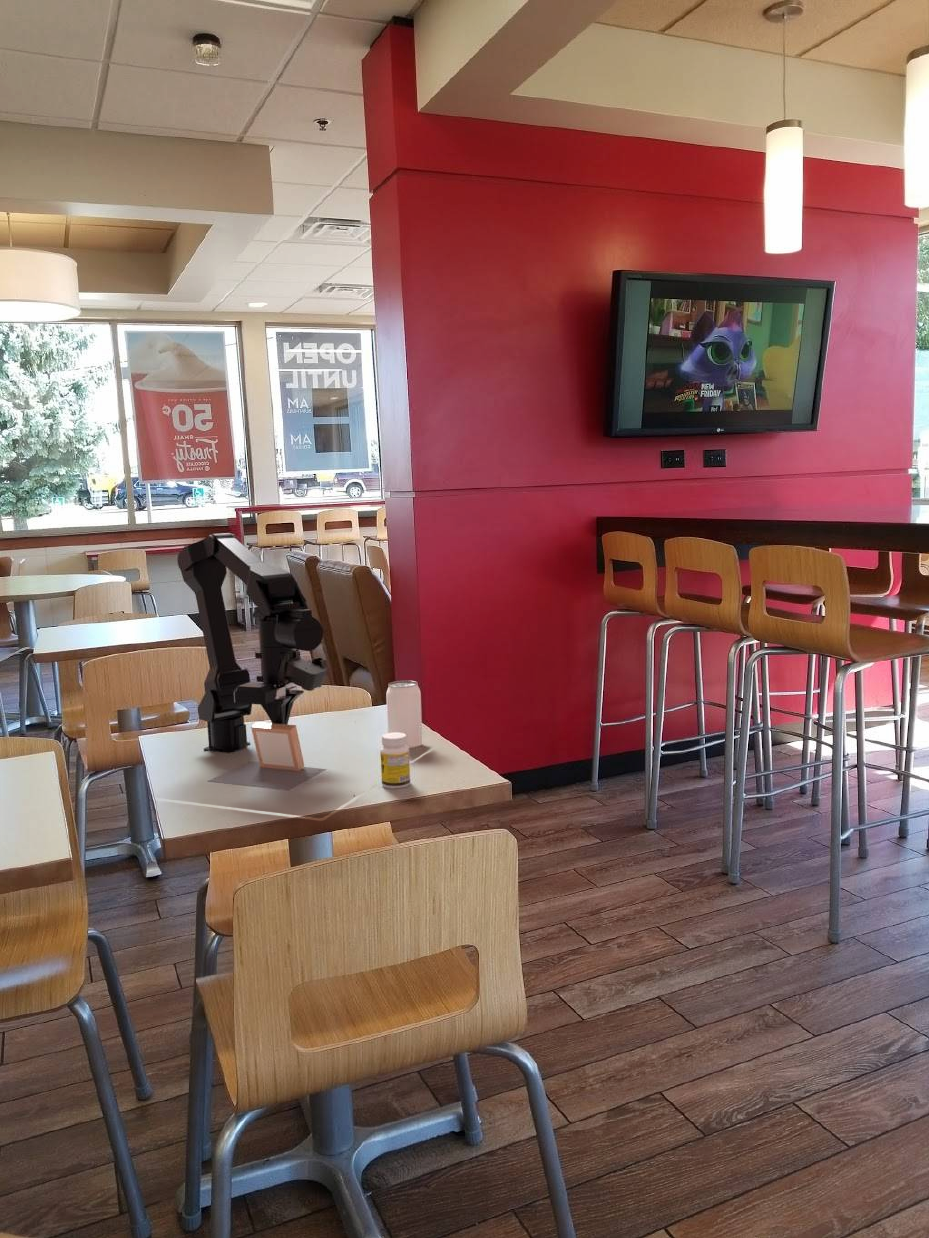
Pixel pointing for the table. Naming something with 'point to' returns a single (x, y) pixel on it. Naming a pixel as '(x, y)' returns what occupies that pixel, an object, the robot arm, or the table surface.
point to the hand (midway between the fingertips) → (281, 733)
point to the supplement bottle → (395, 761)
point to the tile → (278, 746)
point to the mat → (266, 776)
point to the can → (405, 711)
